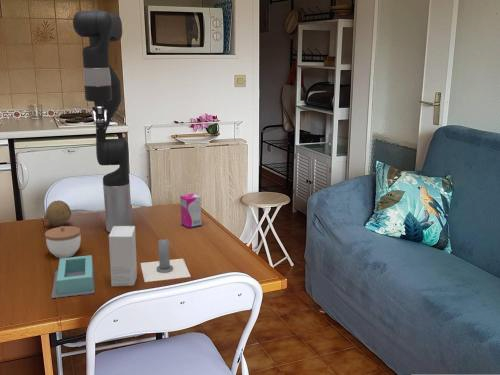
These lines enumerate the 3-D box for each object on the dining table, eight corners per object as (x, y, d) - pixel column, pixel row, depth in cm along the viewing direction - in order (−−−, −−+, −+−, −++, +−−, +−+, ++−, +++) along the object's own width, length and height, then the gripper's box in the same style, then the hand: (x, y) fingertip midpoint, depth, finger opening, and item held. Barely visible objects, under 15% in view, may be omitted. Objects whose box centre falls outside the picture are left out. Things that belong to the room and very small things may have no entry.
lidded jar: (89, 250, 173) (87, 223, 171) (68, 262, 163) (65, 234, 161) (61, 246, 176) (59, 219, 174) (39, 258, 167) (36, 230, 164)
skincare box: (115, 276, 153) (112, 225, 149) (139, 275, 154) (136, 225, 150) (111, 289, 145) (107, 235, 141) (135, 288, 146) (132, 235, 142)
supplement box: (194, 221, 201) (194, 192, 198) (201, 226, 196) (201, 196, 194) (180, 224, 198) (179, 195, 195) (187, 229, 194) (186, 198, 191)
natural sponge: (77, 226, 196) (75, 200, 194) (55, 232, 190) (52, 205, 187) (64, 221, 202) (62, 196, 199) (42, 227, 196) (39, 201, 193)
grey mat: (55, 272, 156) (55, 270, 156) (97, 267, 159) (97, 266, 159) (51, 299, 140) (51, 297, 139) (98, 293, 143) (98, 291, 143)
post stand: (140, 265, 161) (138, 235, 158) (183, 260, 164) (182, 231, 162) (144, 284, 148) (143, 251, 145) (190, 279, 151) (189, 247, 149)
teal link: (61, 271, 156) (59, 258, 155) (92, 267, 158) (91, 255, 157) (58, 294, 141) (56, 280, 140) (93, 290, 144) (91, 276, 143)
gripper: (84, 82, 158) (88, 136, 162) (83, 85, 144) (88, 144, 149) (110, 81, 160) (113, 135, 164) (111, 85, 146) (115, 143, 151)
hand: (101, 139), depth 156 cm, fingers open, 8 cm apart
